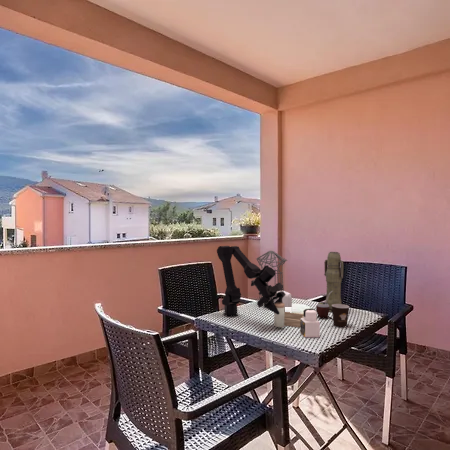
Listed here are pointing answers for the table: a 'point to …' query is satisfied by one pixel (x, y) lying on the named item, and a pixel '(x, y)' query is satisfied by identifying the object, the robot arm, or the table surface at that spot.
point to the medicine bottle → (310, 324)
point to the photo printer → (287, 299)
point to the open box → (292, 319)
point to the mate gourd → (323, 309)
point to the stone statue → (333, 278)
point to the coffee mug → (339, 314)
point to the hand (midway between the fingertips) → (281, 312)
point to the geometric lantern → (272, 264)
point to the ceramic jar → (279, 315)
